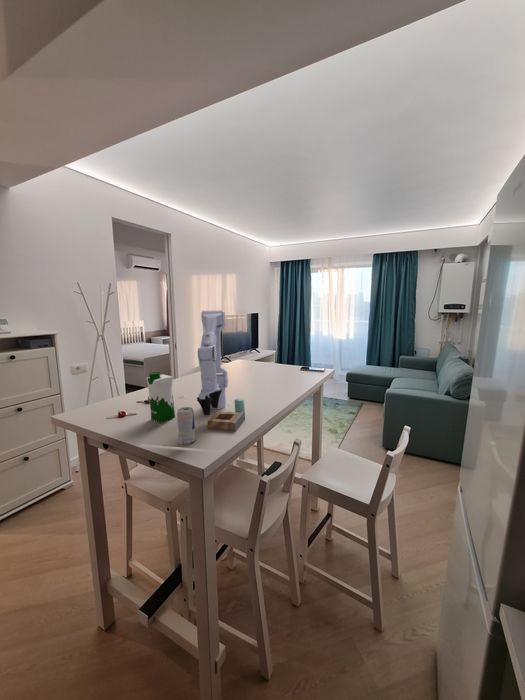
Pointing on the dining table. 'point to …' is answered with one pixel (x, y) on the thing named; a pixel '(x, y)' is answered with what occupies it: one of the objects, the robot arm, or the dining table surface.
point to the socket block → (222, 420)
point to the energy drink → (186, 425)
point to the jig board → (238, 421)
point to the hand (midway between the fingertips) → (211, 411)
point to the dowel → (239, 405)
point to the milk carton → (161, 397)
